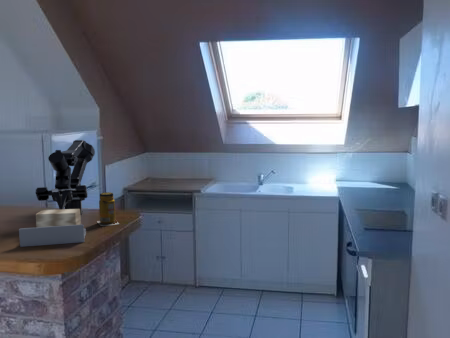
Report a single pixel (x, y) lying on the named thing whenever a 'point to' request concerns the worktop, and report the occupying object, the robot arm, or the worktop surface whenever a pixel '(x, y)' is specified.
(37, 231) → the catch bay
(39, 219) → the wide block
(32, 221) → the worktop surface
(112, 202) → the condiment
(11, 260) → the worktop surface
